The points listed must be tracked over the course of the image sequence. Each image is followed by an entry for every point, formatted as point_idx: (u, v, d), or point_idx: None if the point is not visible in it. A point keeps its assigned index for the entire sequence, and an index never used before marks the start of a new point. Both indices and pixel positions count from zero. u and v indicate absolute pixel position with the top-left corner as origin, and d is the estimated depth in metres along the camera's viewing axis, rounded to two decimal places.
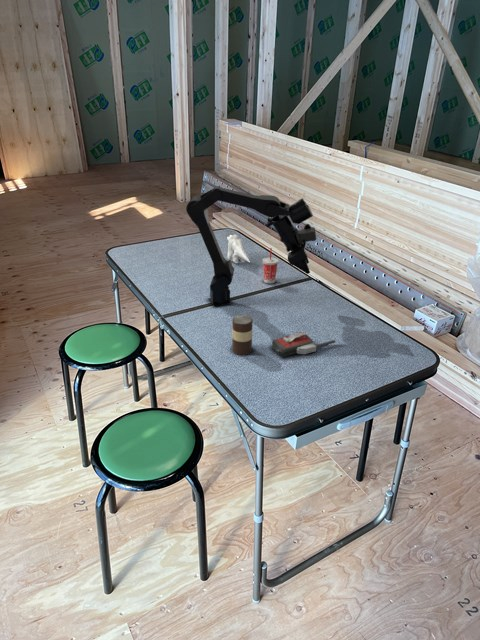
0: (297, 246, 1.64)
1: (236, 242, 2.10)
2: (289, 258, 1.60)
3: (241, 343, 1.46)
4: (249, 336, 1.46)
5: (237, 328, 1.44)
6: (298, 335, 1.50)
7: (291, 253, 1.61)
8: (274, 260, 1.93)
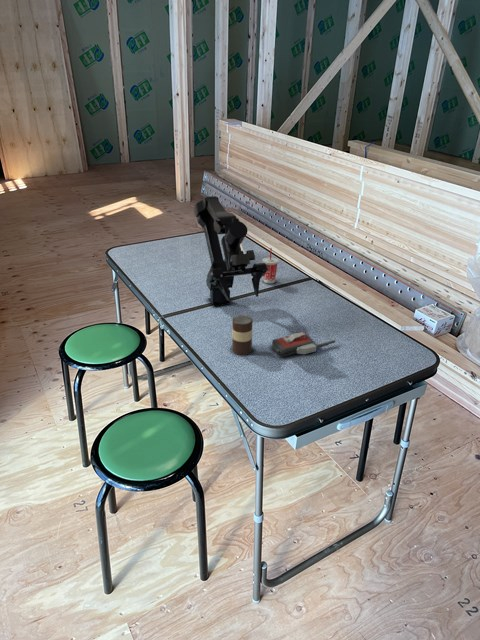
0: (229, 269, 1.52)
1: None
2: None
3: (241, 343, 1.46)
4: (249, 336, 1.46)
5: (237, 328, 1.44)
6: (298, 335, 1.50)
7: None
8: (274, 260, 1.93)
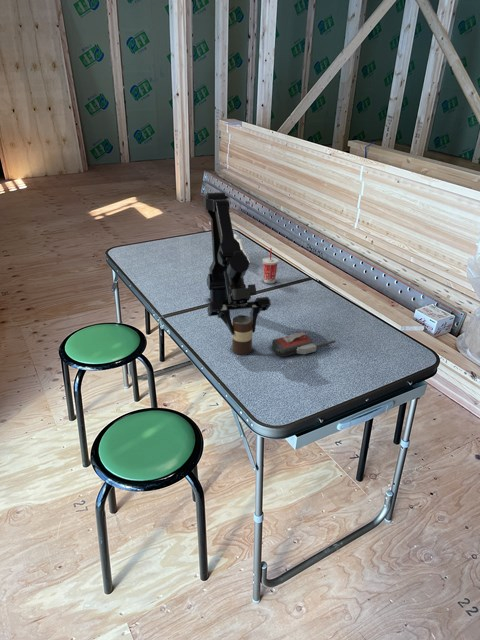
0: (230, 302, 1.48)
1: None
2: None
3: (241, 343, 1.46)
4: (249, 336, 1.46)
5: (237, 328, 1.44)
6: (298, 335, 1.50)
7: None
8: (274, 260, 1.93)
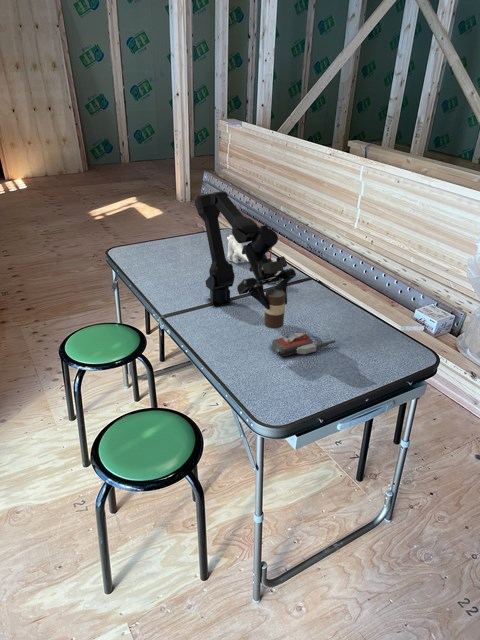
0: (259, 278, 1.47)
1: (236, 242, 2.10)
2: None
3: (277, 317, 1.47)
4: (284, 308, 1.47)
5: (273, 302, 1.45)
6: (298, 335, 1.50)
7: None
8: (274, 260, 1.93)
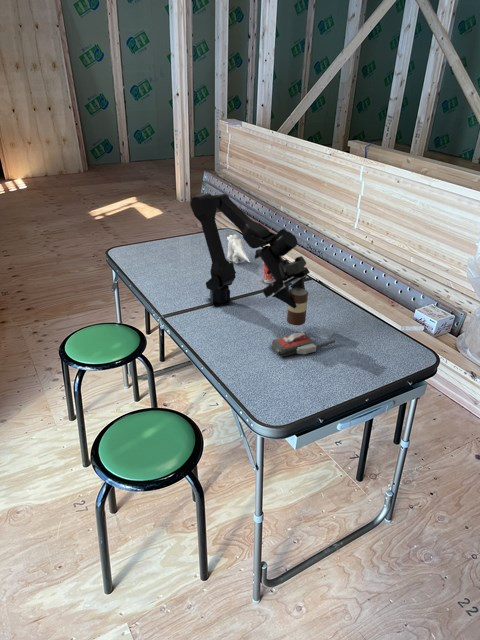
0: (281, 279, 1.53)
1: (236, 242, 2.10)
2: (263, 291, 1.51)
3: (302, 314, 1.55)
4: (306, 305, 1.56)
5: (300, 300, 1.52)
6: (298, 335, 1.50)
7: None
8: None
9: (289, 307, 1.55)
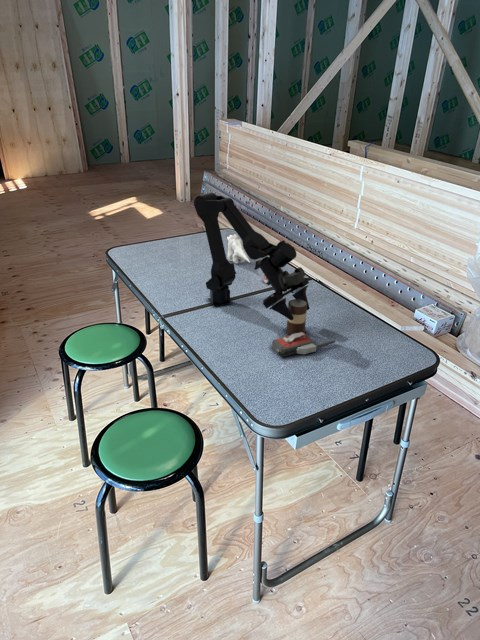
0: (281, 290, 1.55)
1: (236, 242, 2.10)
2: (263, 302, 1.53)
3: (302, 325, 1.57)
4: None
5: (299, 311, 1.54)
6: (298, 335, 1.50)
7: None
8: None
9: None
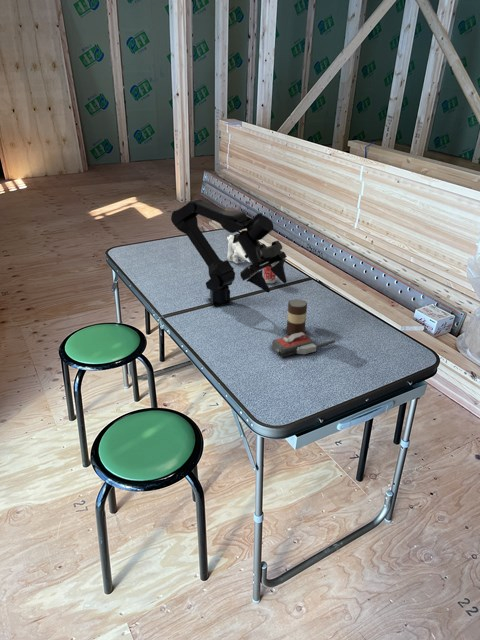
0: (258, 263, 1.57)
1: (236, 242, 2.10)
2: (240, 274, 1.55)
3: (302, 325, 1.57)
4: None
5: (299, 311, 1.54)
6: (298, 335, 1.50)
7: None
8: None
9: (288, 318, 1.57)
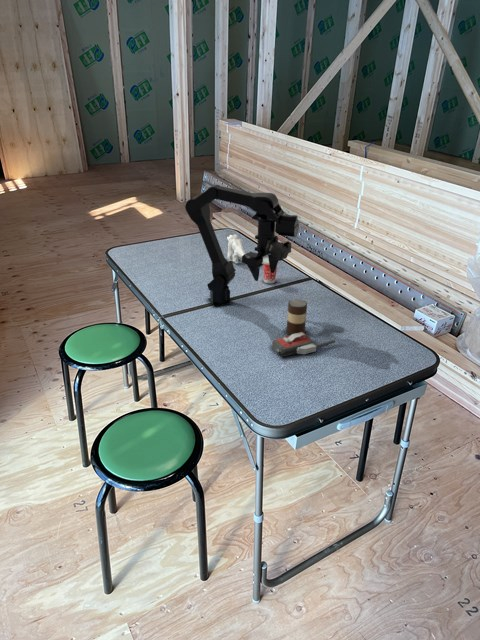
0: (263, 252, 1.61)
1: (236, 242, 2.10)
2: (243, 256, 1.59)
3: (302, 325, 1.57)
4: None
5: (299, 311, 1.54)
6: (298, 335, 1.50)
7: (249, 253, 1.59)
8: None
9: (288, 318, 1.57)
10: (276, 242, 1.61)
